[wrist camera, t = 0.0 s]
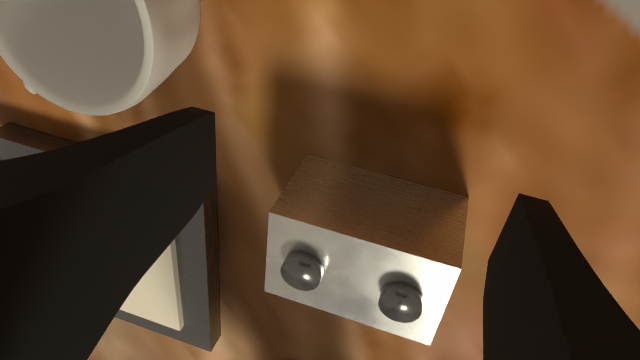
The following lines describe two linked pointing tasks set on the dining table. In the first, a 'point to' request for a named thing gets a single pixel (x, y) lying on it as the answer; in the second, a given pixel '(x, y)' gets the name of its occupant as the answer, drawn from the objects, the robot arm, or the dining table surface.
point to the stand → (159, 263)
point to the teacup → (96, 48)
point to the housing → (366, 246)
